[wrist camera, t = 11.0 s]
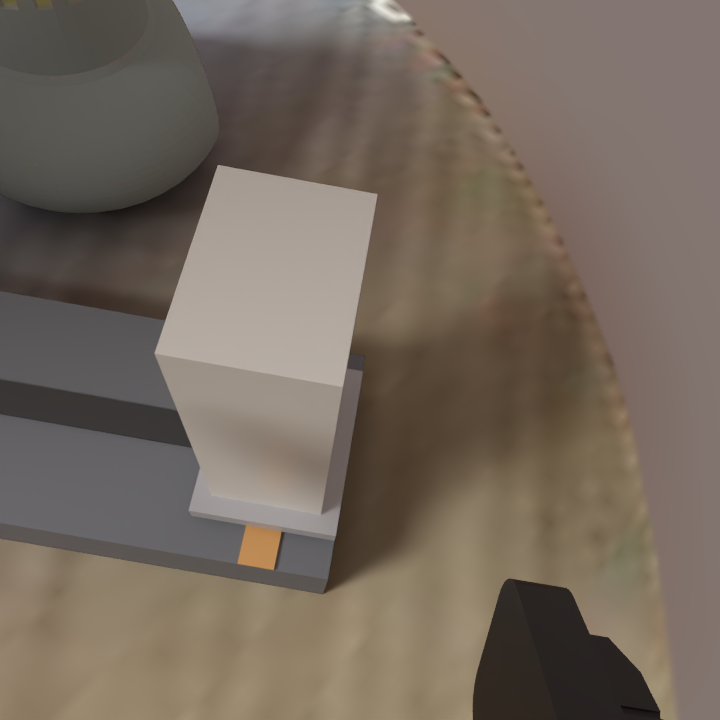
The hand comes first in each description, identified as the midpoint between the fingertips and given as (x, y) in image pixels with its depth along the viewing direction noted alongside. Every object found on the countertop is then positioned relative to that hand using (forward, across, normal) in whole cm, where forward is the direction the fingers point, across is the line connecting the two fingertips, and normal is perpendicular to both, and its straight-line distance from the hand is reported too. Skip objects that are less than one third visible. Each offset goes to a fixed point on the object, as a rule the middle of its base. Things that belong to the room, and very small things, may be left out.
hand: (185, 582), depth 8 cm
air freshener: (+22, +10, -4) cm, 25 cm away
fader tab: (+10, 0, +3) cm, 11 cm away
